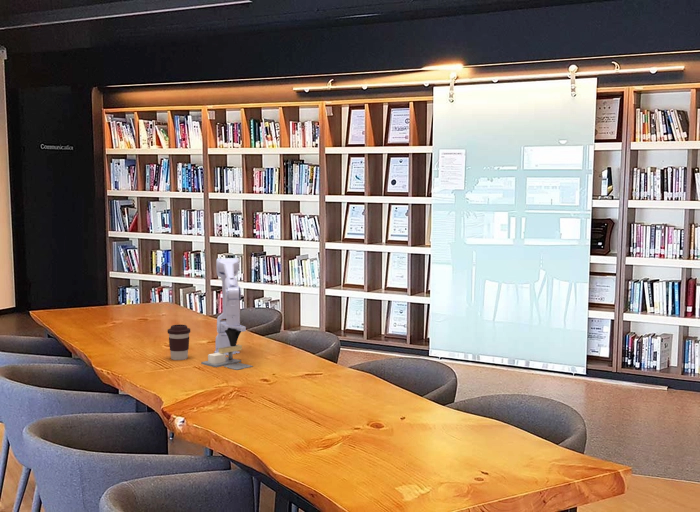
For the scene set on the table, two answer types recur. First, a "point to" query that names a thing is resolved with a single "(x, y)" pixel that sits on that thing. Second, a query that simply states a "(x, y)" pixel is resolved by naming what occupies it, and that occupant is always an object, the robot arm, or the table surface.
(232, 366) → the mat
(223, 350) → the tan rectangular bar
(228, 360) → the panel
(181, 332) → the coffee cup
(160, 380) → the table surface
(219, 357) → the white rectangular block
